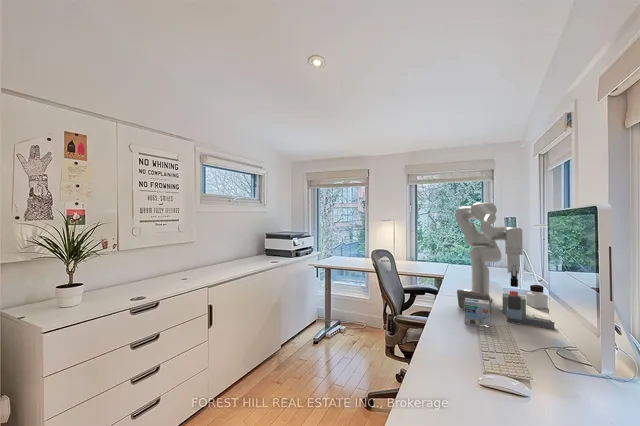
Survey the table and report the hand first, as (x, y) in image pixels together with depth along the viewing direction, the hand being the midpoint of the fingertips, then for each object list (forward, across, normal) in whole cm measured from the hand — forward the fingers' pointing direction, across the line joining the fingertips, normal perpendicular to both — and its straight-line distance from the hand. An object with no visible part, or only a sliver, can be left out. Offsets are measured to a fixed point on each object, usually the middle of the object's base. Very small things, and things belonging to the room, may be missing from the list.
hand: (514, 286), depth 154 cm
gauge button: (+7, 0, 0) cm, 7 cm away
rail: (+14, +14, +6) cm, 21 cm away
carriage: (+12, +14, 0) cm, 18 cm away
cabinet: (+14, 0, 0) cm, 14 cm away
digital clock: (+14, +6, -18) cm, 24 cm away
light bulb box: (+15, +26, -15) cm, 33 cm away
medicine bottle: (+14, -22, +11) cm, 29 cm away
